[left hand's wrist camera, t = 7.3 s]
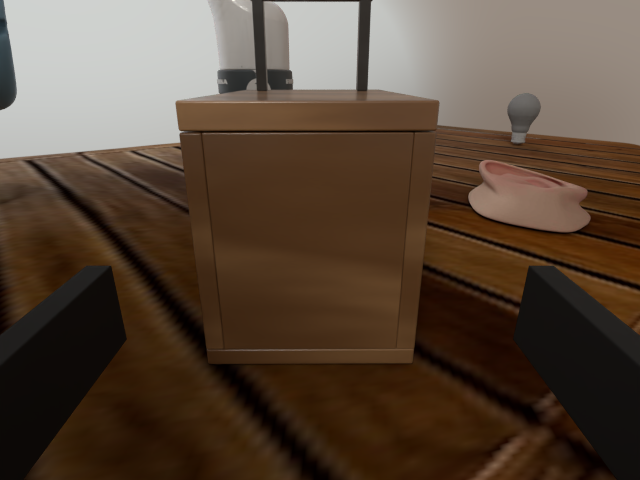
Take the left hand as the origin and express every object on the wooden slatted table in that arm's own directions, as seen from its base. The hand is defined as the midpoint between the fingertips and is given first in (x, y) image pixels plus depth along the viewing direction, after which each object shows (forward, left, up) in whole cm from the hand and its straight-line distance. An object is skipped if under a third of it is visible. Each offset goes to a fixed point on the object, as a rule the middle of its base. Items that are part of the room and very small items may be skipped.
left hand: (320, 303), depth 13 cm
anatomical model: (-8, +36, -6) cm, 37 cm away
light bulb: (-28, +81, -6) cm, 86 cm away
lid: (-10, +8, +5) cm, 14 cm away
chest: (-10, +8, -6) cm, 14 cm away
